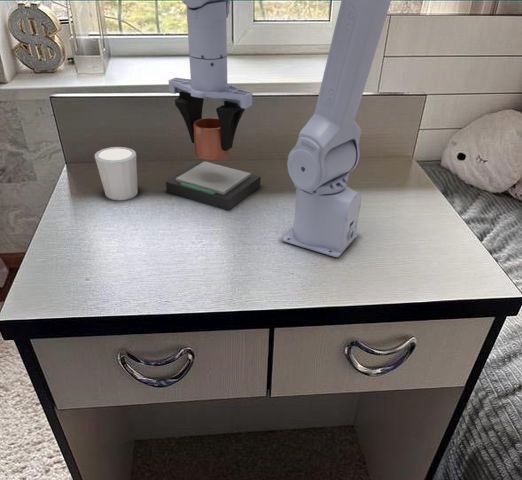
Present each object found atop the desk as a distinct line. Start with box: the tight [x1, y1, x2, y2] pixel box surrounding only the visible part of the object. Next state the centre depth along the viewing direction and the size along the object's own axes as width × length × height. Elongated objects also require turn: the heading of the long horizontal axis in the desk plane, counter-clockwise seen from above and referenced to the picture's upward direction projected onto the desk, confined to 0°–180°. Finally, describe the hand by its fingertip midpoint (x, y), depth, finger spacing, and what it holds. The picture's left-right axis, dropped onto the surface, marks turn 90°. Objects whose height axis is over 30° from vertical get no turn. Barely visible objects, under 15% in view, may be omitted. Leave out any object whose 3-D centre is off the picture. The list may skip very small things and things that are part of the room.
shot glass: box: [94, 146, 139, 201], centre depth 90 cm, size 7×7×7 cm
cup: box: [193, 117, 229, 161], centre depth 87 cm, size 6×6×5 cm
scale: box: [165, 160, 261, 211], centre depth 94 cm, size 13×11×3 cm
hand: (211, 145), depth 88 cm, fingers closed on cup, 5 cm apart
